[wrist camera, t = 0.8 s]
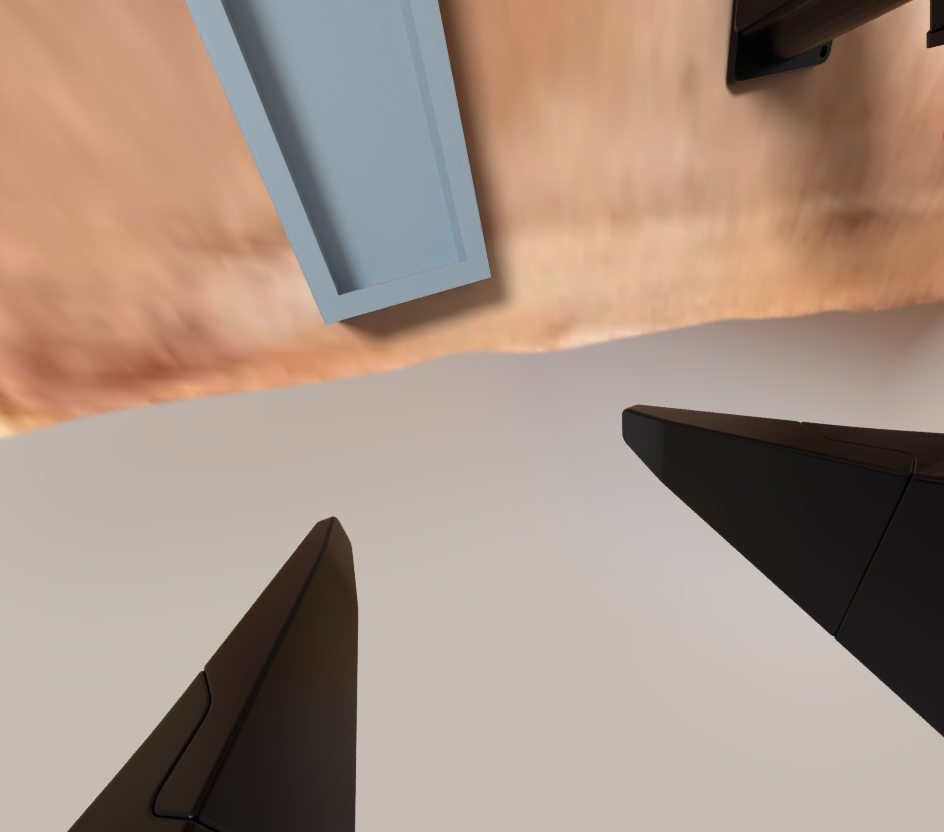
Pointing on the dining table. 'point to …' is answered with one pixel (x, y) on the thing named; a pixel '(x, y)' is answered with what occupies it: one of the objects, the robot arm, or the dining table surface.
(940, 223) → the dining table surface
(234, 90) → the grey shell
